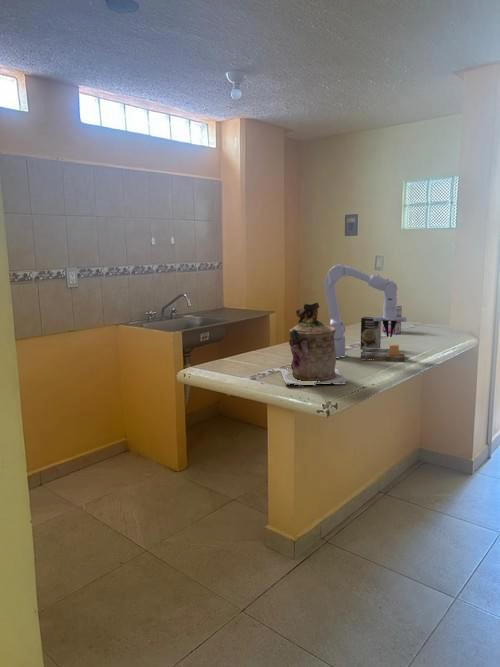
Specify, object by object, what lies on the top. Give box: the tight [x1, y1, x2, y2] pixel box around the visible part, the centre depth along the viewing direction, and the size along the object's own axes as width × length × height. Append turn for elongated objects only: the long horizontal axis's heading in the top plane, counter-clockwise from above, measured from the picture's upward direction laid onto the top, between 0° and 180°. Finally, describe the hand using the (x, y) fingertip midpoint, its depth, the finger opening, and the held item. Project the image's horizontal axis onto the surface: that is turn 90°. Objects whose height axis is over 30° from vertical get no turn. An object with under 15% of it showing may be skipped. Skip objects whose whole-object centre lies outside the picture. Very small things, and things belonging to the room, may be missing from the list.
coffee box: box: [360, 316, 382, 349], centre depth 251 cm, size 9×6×16 cm
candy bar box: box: [382, 304, 403, 335], centre depth 291 cm, size 11×5×16 cm, turn 25°
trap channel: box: [360, 348, 406, 363], centre depth 232 cm, size 20×11×4 cm, turn 73°
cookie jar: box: [279, 301, 348, 386], centre depth 200 cm, size 25×25×32 cm
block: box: [388, 343, 400, 356], centre depth 230 cm, size 4×4×4 cm
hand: (389, 336), depth 230 cm, fingers closed
